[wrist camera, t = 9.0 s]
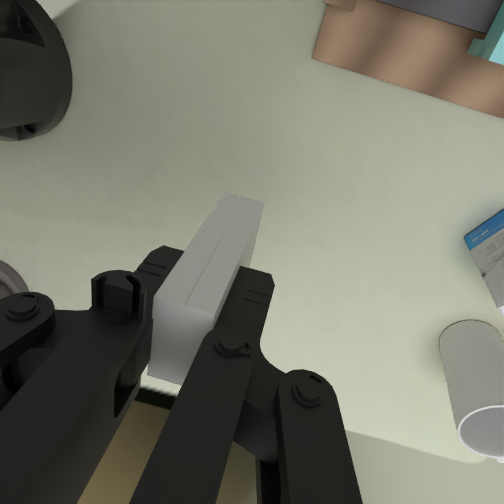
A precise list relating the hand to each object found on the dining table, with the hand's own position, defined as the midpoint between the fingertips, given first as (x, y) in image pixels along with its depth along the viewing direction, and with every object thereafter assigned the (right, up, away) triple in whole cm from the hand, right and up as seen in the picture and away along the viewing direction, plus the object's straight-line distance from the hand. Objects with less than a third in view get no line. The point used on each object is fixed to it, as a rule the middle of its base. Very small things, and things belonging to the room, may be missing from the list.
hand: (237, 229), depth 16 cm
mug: (+25, -12, +31) cm, 42 cm away
